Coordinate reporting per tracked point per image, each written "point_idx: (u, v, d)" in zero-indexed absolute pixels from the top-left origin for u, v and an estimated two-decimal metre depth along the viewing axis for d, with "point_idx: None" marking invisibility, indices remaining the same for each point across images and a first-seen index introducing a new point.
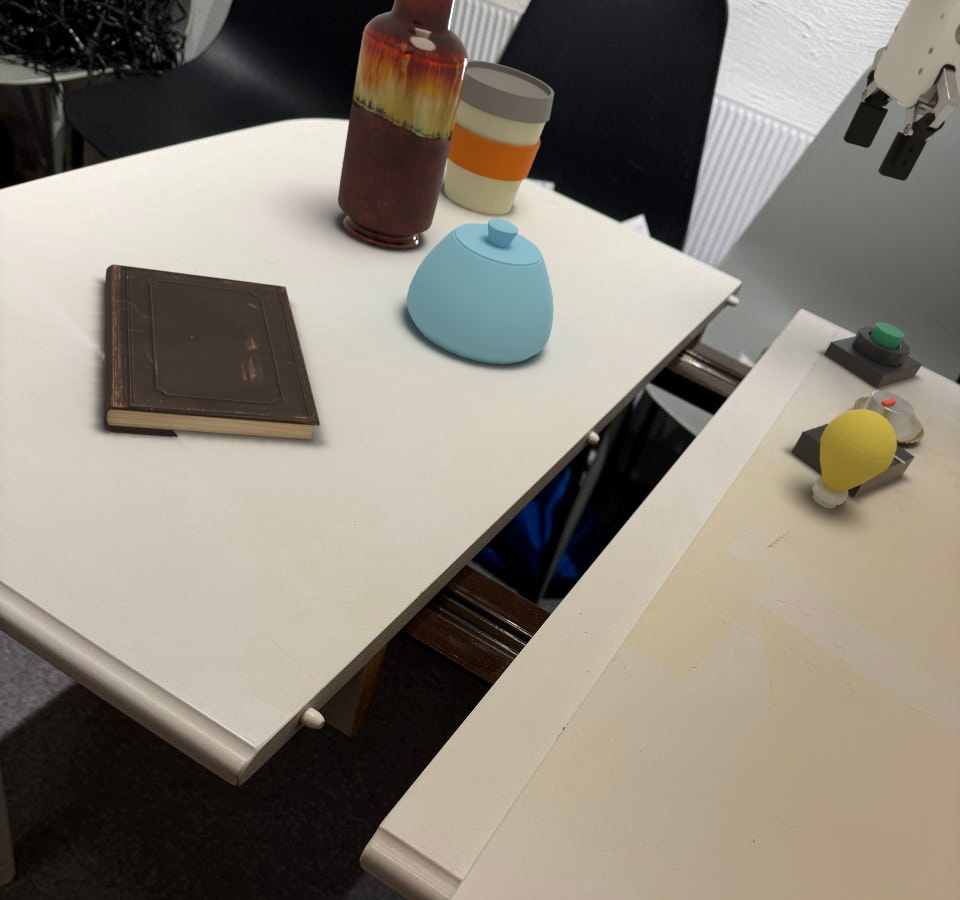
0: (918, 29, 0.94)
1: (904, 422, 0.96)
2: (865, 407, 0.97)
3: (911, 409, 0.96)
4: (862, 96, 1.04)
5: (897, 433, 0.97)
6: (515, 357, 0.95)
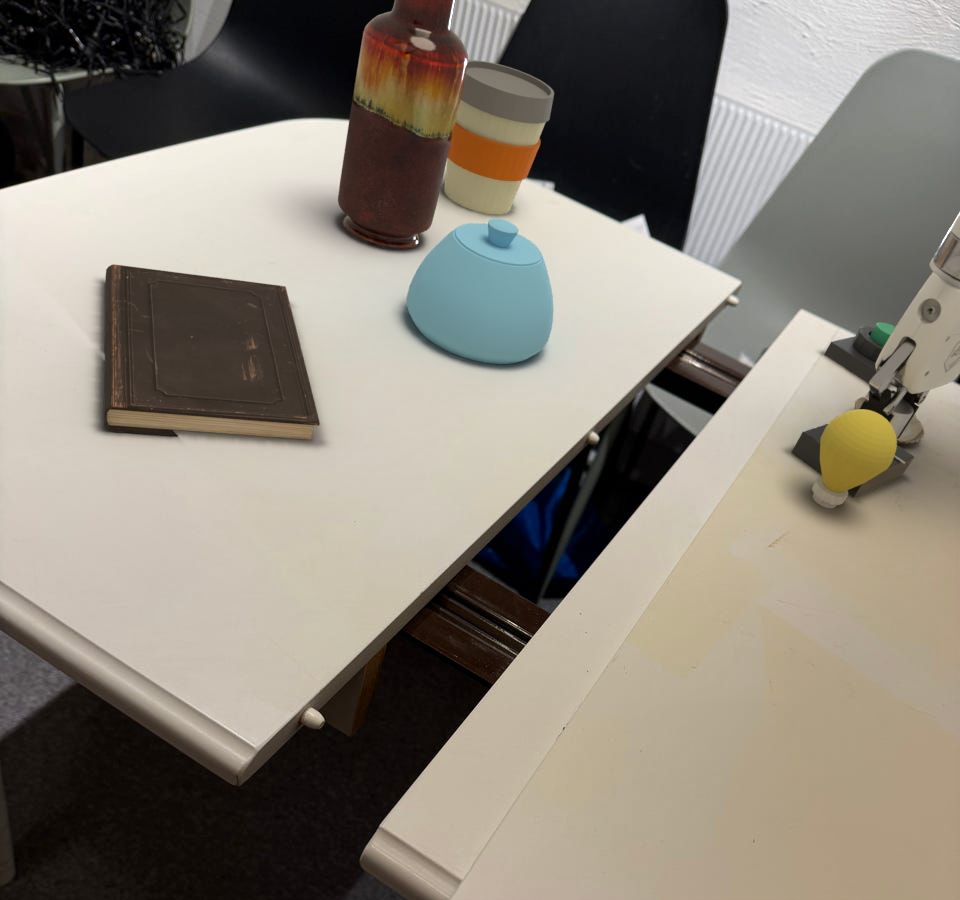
0: None
1: (904, 422, 0.96)
2: None
3: (911, 409, 0.96)
4: None
5: (897, 433, 0.97)
6: (515, 357, 0.95)
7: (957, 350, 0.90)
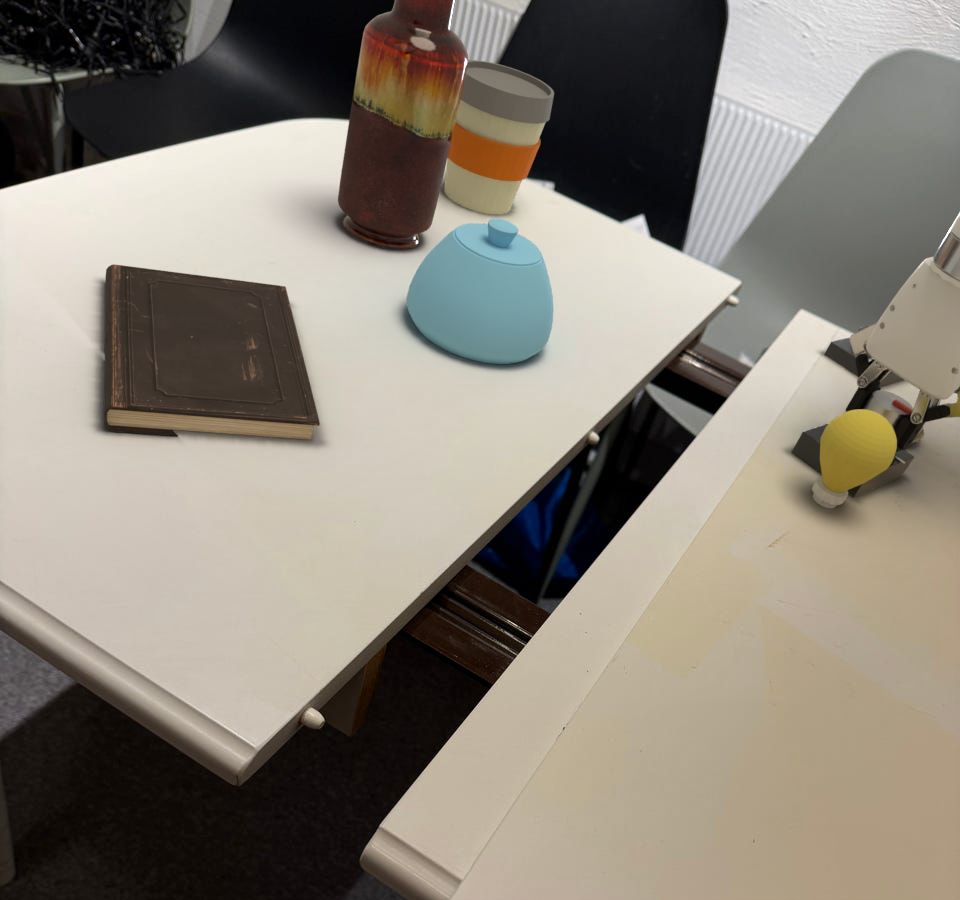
0: (939, 324, 0.89)
1: None
2: None
3: (893, 394, 0.98)
4: (858, 384, 0.97)
5: None
6: (515, 357, 0.95)
7: None
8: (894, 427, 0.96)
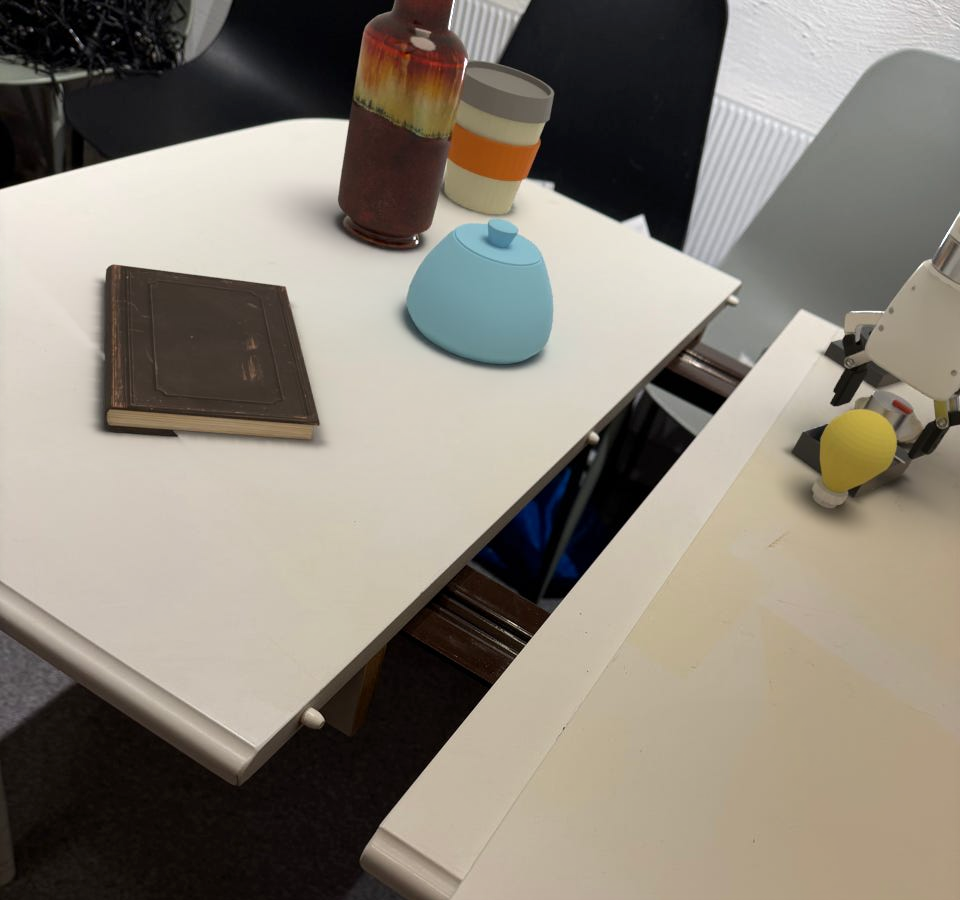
0: (938, 327, 0.89)
1: None
2: None
3: (893, 394, 0.98)
4: (844, 362, 0.98)
5: None
6: (515, 357, 0.95)
7: None
8: (893, 427, 0.96)
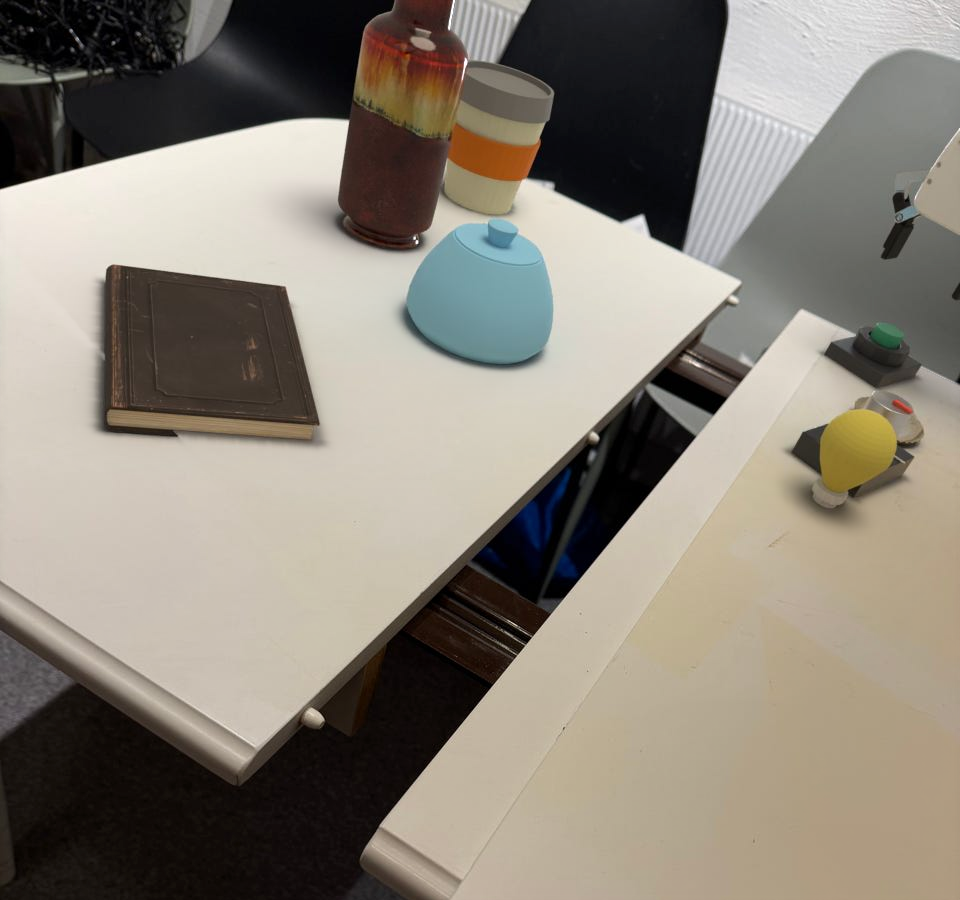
0: None
1: None
2: None
3: (893, 394, 0.98)
4: (894, 217, 1.11)
5: None
6: (515, 357, 0.95)
7: None
8: (893, 427, 0.96)
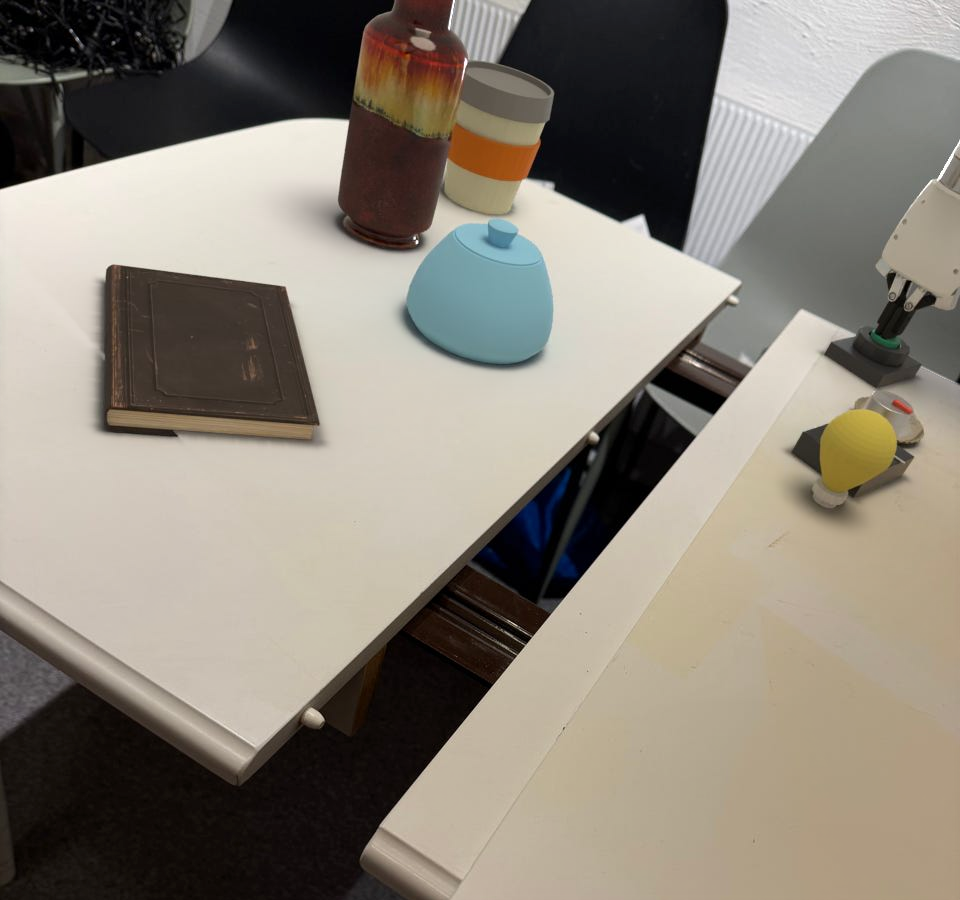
0: (943, 233, 1.08)
1: None
2: None
3: (893, 394, 0.98)
4: (889, 300, 1.16)
5: None
6: (515, 357, 0.95)
7: None
8: (893, 427, 0.96)
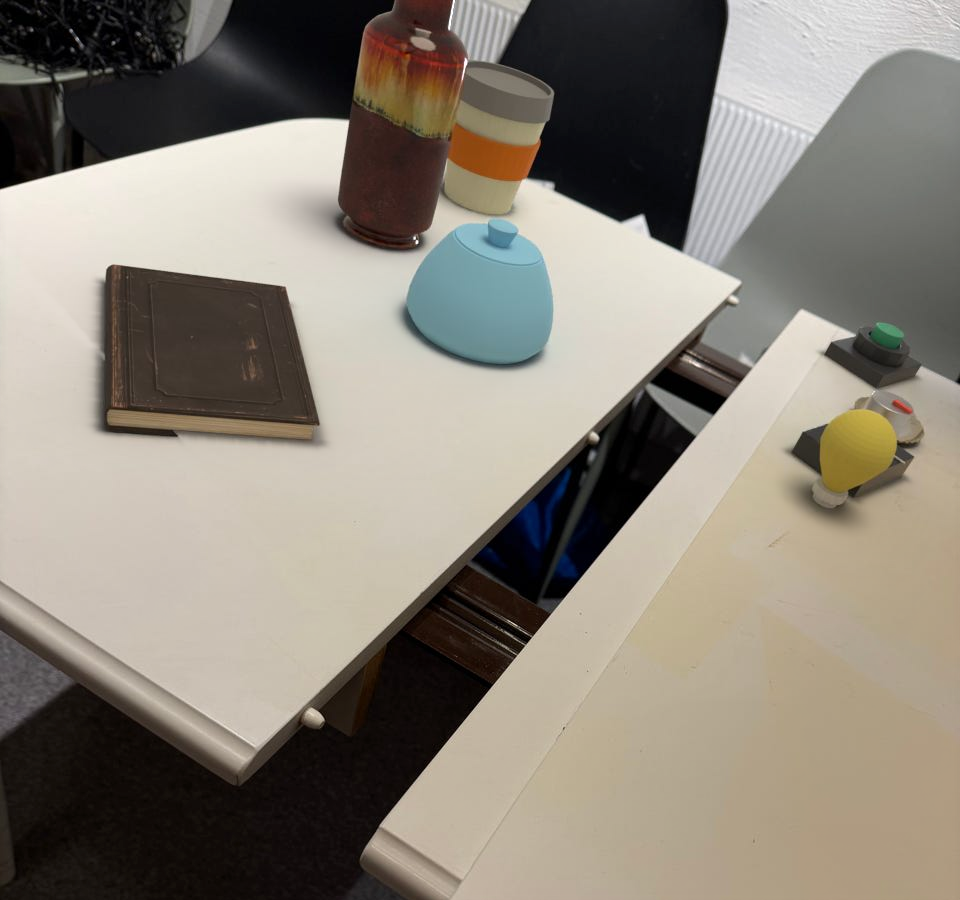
0: None
1: None
2: None
3: (893, 394, 0.98)
4: None
5: None
6: (515, 357, 0.95)
7: None
8: (893, 427, 0.96)
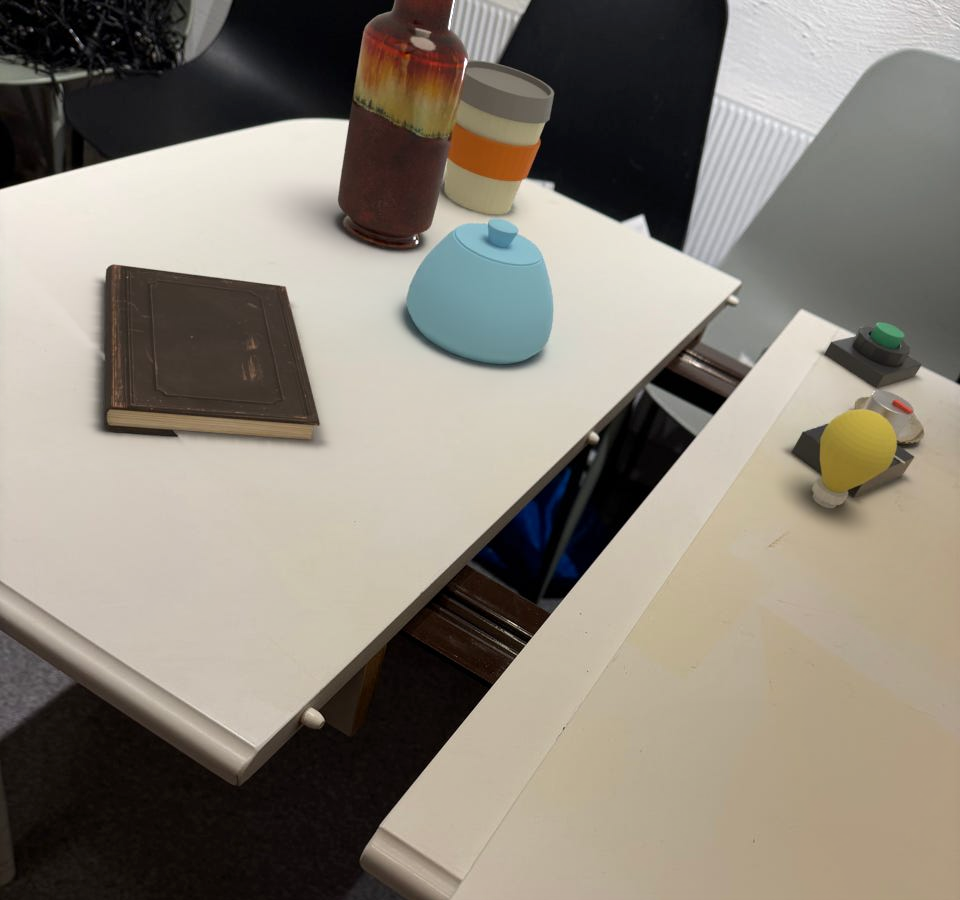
0: None
1: None
2: None
3: (893, 394, 0.98)
4: None
5: None
6: (515, 357, 0.95)
7: None
8: (893, 427, 0.96)
